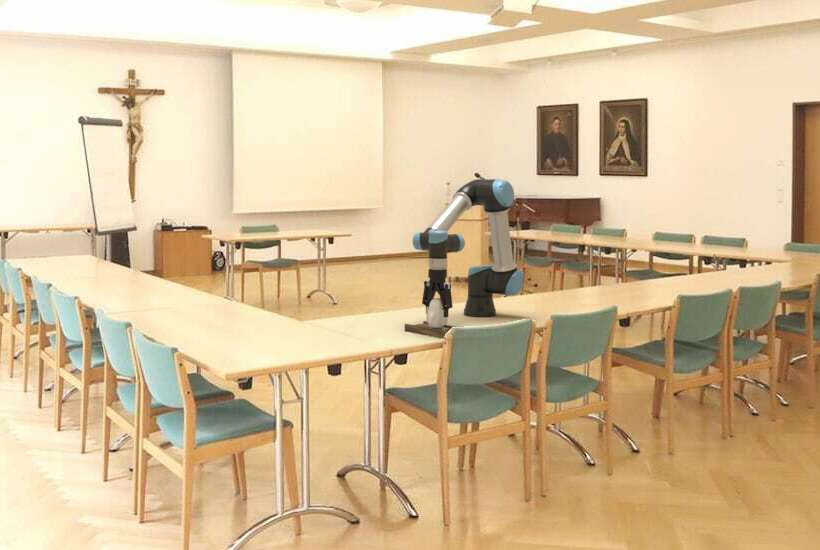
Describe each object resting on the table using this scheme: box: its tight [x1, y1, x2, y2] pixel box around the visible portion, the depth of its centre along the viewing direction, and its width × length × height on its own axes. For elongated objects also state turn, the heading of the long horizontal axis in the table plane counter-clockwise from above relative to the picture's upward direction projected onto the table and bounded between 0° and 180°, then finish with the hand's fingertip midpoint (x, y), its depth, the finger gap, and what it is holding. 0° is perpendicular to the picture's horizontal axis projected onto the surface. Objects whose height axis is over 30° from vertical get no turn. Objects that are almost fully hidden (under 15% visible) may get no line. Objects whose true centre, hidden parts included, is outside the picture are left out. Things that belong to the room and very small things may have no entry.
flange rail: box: [404, 320, 456, 339], centre depth 370 cm, size 12×22×4 cm, turn 43°
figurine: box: [428, 297, 444, 328], centre depth 367 cm, size 7×8×12 cm
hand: (436, 323), depth 368 cm, fingers closed on figurine, 8 cm apart
